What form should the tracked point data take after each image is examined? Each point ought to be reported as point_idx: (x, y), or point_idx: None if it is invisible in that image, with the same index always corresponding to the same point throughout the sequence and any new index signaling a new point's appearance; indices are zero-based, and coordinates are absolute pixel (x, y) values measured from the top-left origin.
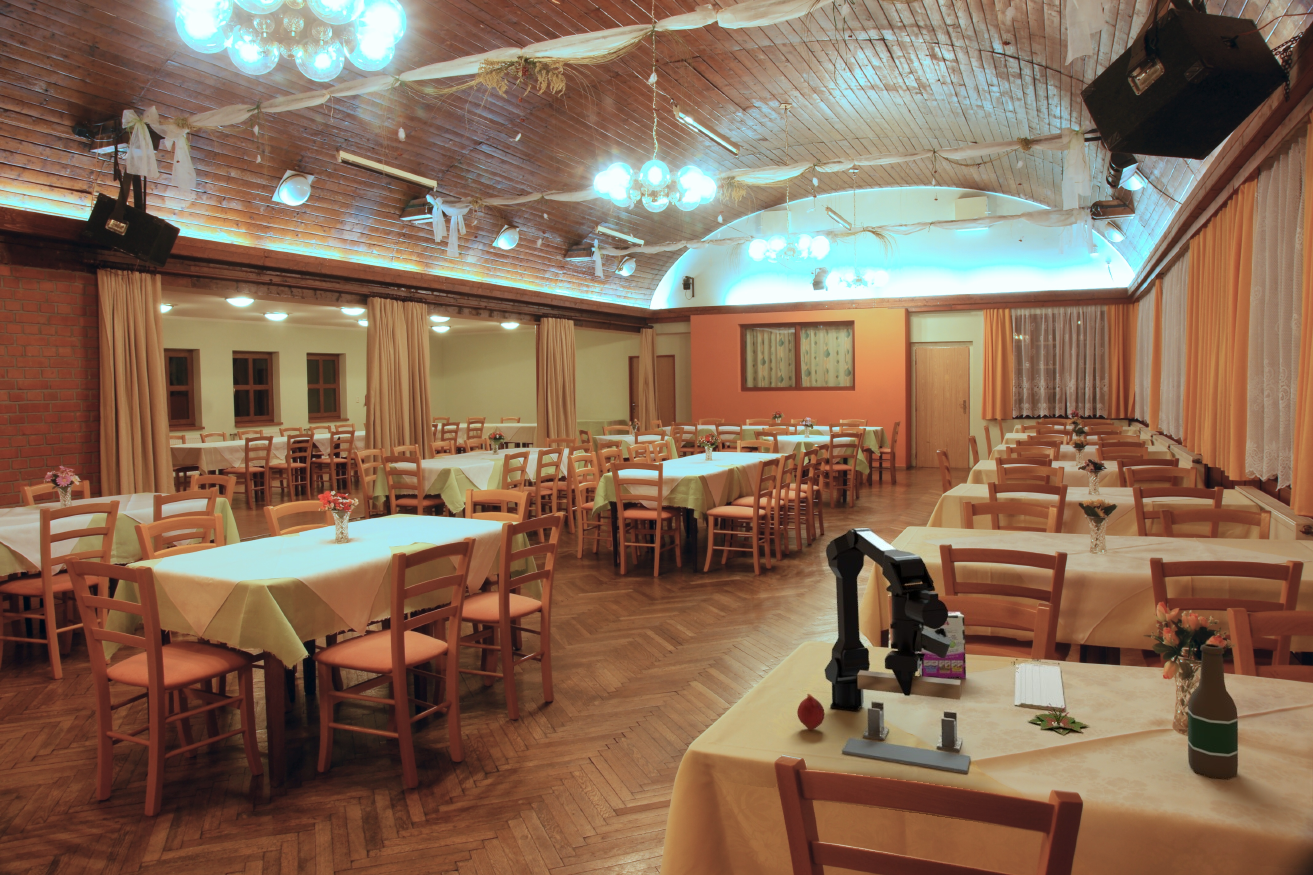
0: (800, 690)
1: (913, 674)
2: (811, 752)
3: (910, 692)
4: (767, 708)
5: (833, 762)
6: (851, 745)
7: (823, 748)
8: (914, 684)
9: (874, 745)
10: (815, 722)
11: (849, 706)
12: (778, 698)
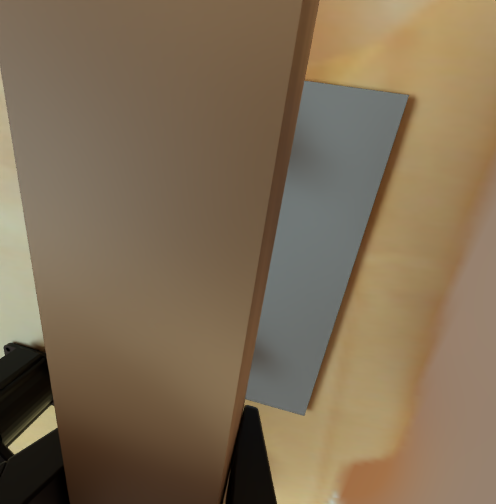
0: None
1: (53, 488)
2: (310, 460)
3: (247, 419)
4: None
5: (359, 430)
6: (271, 394)
7: (284, 438)
8: (228, 462)
9: (259, 347)
10: None
11: None
12: None
